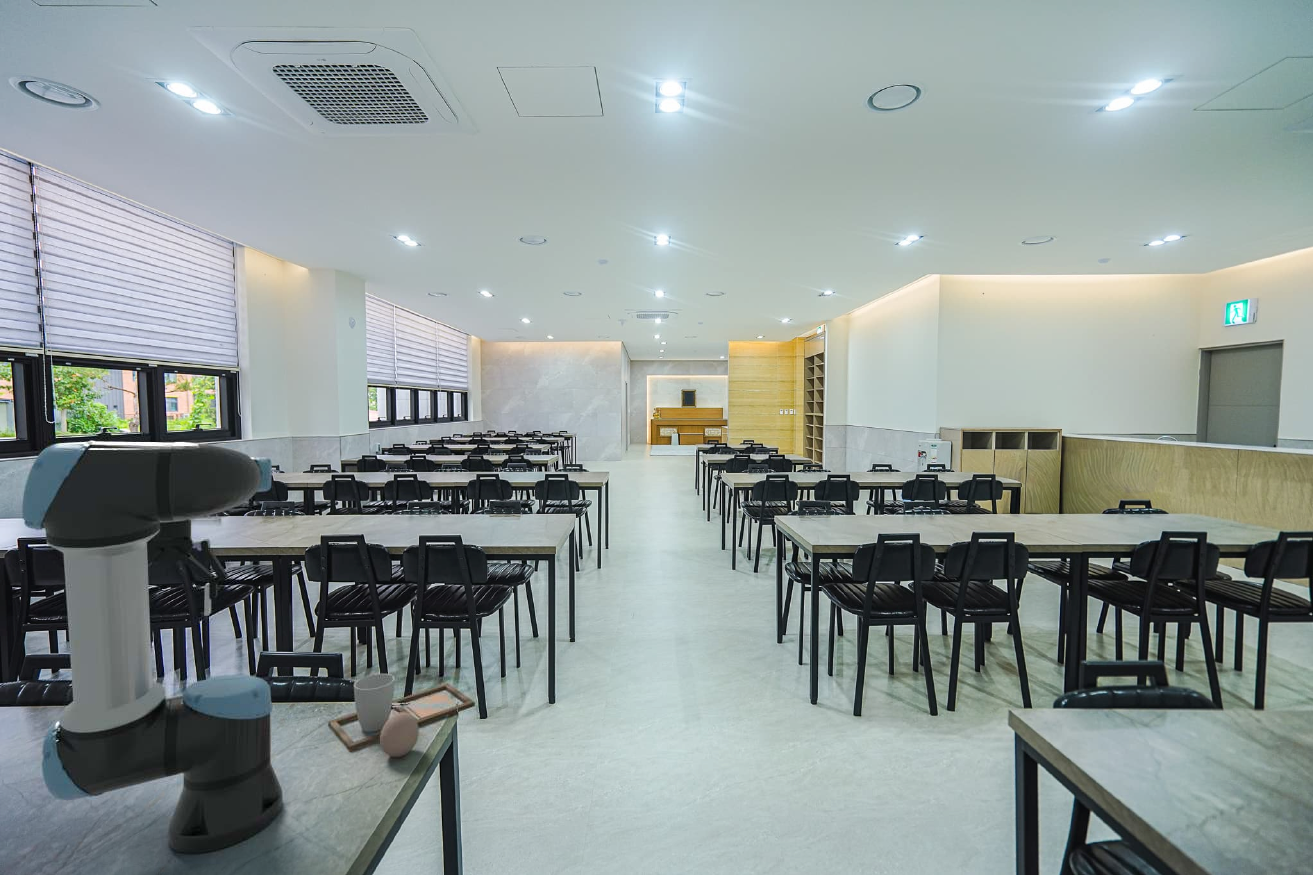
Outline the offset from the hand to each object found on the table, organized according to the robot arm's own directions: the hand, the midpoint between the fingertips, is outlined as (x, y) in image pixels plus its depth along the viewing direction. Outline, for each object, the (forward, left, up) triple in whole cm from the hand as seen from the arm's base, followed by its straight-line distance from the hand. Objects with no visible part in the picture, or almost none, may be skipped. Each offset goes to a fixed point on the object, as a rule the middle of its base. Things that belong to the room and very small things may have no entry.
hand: (167, 619), depth 120 cm
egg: (-42, -33, -26) cm, 59 cm away
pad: (-26, -46, -25) cm, 59 cm away
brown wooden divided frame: (-26, -40, -25) cm, 54 cm away
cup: (-26, -33, -26) cm, 49 cm away
